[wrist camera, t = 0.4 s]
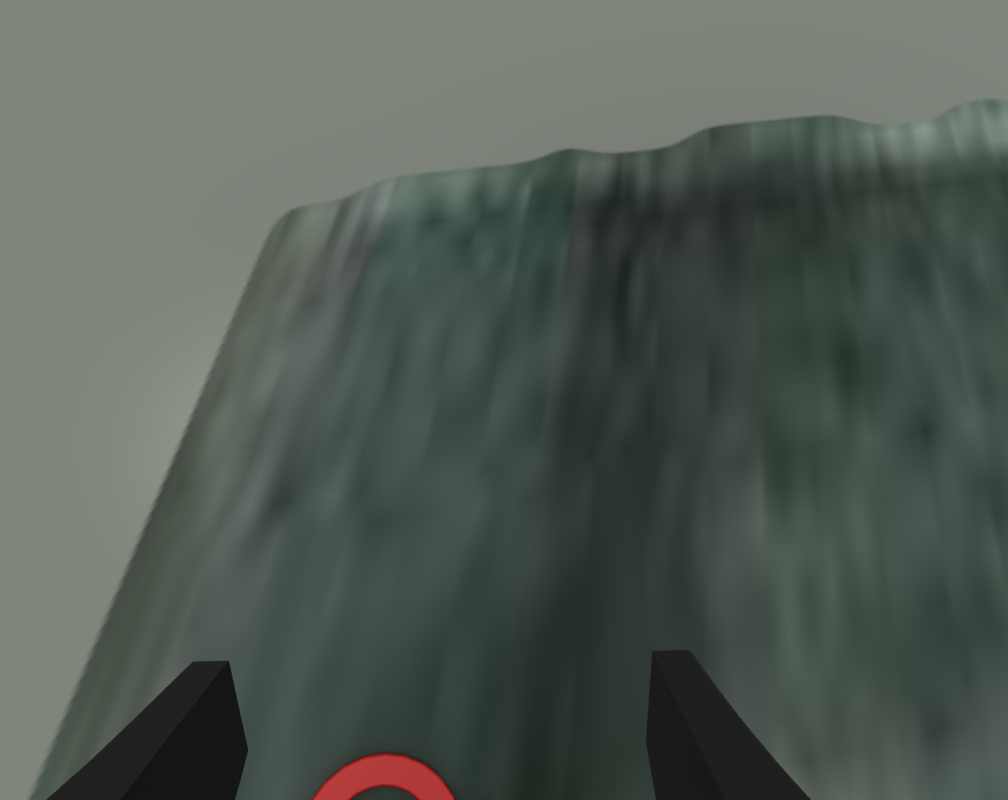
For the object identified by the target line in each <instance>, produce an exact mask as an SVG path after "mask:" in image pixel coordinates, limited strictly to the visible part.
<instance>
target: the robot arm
mask: <svg viewBox="0 0 1008 800" xmlns="http://www.w3.org/2000/svg"><path fill="white" fill-rule="evenodd" d="M646 744H647V750H648V756H649V762H650V768H651V774H652V779H653V785H654V790H655V796H656V800H811V799H810V798H809V797H808V796H807V795H806V794H805V793H804V792H803V790H802V789H801V788H800V787H799V786H798V785H797V784H796V783H795V782H794V781H793V780H792V779H791V777H790V776H789V775H788V774H787V773H786V772H785V771H784V769H783V768H782V767H781V766H780V765H779V764H778V763H777V762H776V760H775V759H774V758H773V757H772V756H771V754H770V753H769V752H768V751H767V750H766V748H765V747H764V746H763V745H762V744H761V742H760V741H759V740H758V739H757V738H756V736H755V735H754V734H753V733H752V732H751V730H750V729H749V728H748V727H747V726H746V724H745V723H744V722H743V721H742V719H741V718H740V717H739V716H738V714H737V713H736V712H735V710H734V709H733V708H732V707H731V705H730V704H729V703H728V701H727V700H726V699H725V697H724V696H723V695H722V693H721V692H720V691H719V689H718V688H717V687H716V685H715V684H714V683H713V681H712V680H711V679H710V677H709V676H708V674H707V673H706V672H705V670H704V669H703V667H702V666H701V665H700V663H699V662H698V660H697V659H696V657H695V656H694V655H693V654H692V653H691V652H690V651H689V650H673V651H652V664H651V678H650V692H649V707H648V721H647V735H646ZM247 753H248V747H247V743H246V738H245V734H244V729H243V724H242V720H241V715H240V710H239V706H238V701H237V696H236V692H235V687H234V682H233V678H232V673H231V668H230V664H229V661H201V662H192V663H191V664H190V665H189V666H188V667H187V668H186V669H185V670H184V671H183V672H182V673H181V674H180V675H179V676H178V677H177V678H176V679H175V680H174V681H173V682H172V683H171V684H169V685H168V686H167V687H166V688H165V689H164V690H163V691H162V692H161V693H160V694H159V695H158V696H157V697H156V698H155V699H154V700H153V701H152V702H151V703H150V704H149V705H148V706H147V707H146V708H145V709H144V710H143V711H142V712H141V713H140V714H139V715H138V716H137V717H136V718H135V719H134V720H133V721H132V722H130V723H129V724H128V725H127V726H126V727H125V728H124V729H123V730H122V731H121V732H120V733H119V734H118V735H117V736H116V737H115V738H114V739H113V740H112V741H111V742H110V743H108V744H107V745H106V746H105V747H104V748H103V749H102V750H101V751H100V752H99V753H98V754H97V755H96V756H95V757H94V758H93V759H92V760H90V761H89V762H88V763H87V764H86V765H85V766H84V767H83V768H82V769H81V770H79V771H78V772H77V773H76V774H75V775H74V776H73V777H72V778H70V779H69V780H68V781H67V782H66V783H65V784H64V785H62V786H61V787H60V788H59V789H58V790H57V791H56V792H55V793H53V794H52V795H51V796H50V797H49V798H48V799H47V800H235V797H236V794H237V790H238V787H239V783H240V779H241V776H242V772H243V768H244V764H245V760H246V757H247Z"/></svg>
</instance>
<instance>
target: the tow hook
mask: <svg viewBox="0 0 1008 800" xmlns="http://www.w3.org/2000/svg"><path fill="white" fill-rule="evenodd" d="M383 785H384V786H393V787H398V788H400V789H403V790H405V791H407V792H410V793H411V794H412V795H413V796H414V797H416V798H417V799H418V800H455V799H454V796H453V794H452V793H451V791H450V790H449V788H448V787H447V786H446V784H445V783H444V781H443V780H442V778H441V777H440V776H439V775H438V774H436V773H435V772H434V771H433V770H432V769H430V768H429V767H428V766H427V765H426V764H424V763H422V762H420V761H417V760H415V759H413V758H410V757H408V756H406V755H398V754H389V753H382V754H377V755H371V756H366V757H363V758H361V759H359V760H356V761H354V762H352V763H350V764H348V765H346V766H344V767H343V768H342V769H340V770H339V771H338V772H337V773H336V774H334V775H333V776H332V777H331V778H330V779H328V780H327V781H326V782H325V783H324V785H323V786H322V787H321V789H320V790H319V791H318V793H317V794H316V795H315V797H314V798H313V799H312V800H351V799H352V798H353V797H354V796H355V795H356V794H358V793H360V792H362V791H364V790H366V789H369V788H372V787H378V786H383Z"/></svg>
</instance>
